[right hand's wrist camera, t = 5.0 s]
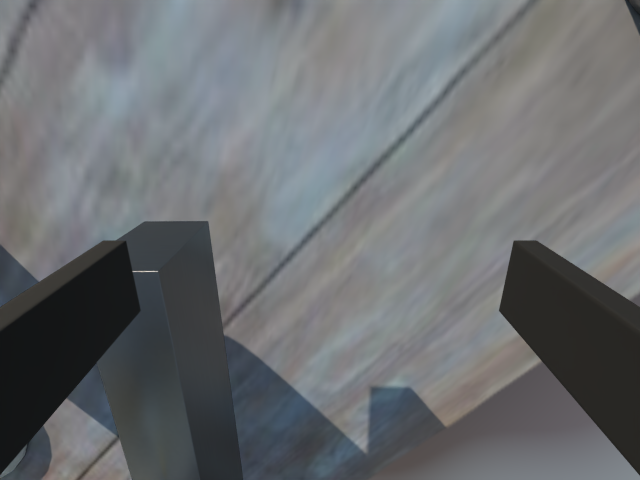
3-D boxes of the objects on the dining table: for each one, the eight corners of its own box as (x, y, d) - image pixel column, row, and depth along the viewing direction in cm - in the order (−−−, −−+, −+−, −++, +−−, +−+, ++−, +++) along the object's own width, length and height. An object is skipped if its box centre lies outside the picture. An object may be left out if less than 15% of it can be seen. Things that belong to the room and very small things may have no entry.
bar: (144, 221, 29) (68, 271, 21) (208, 220, 29) (158, 271, 20) (203, 508, 42) (171, 611, 34) (247, 509, 42) (226, 613, 33)
